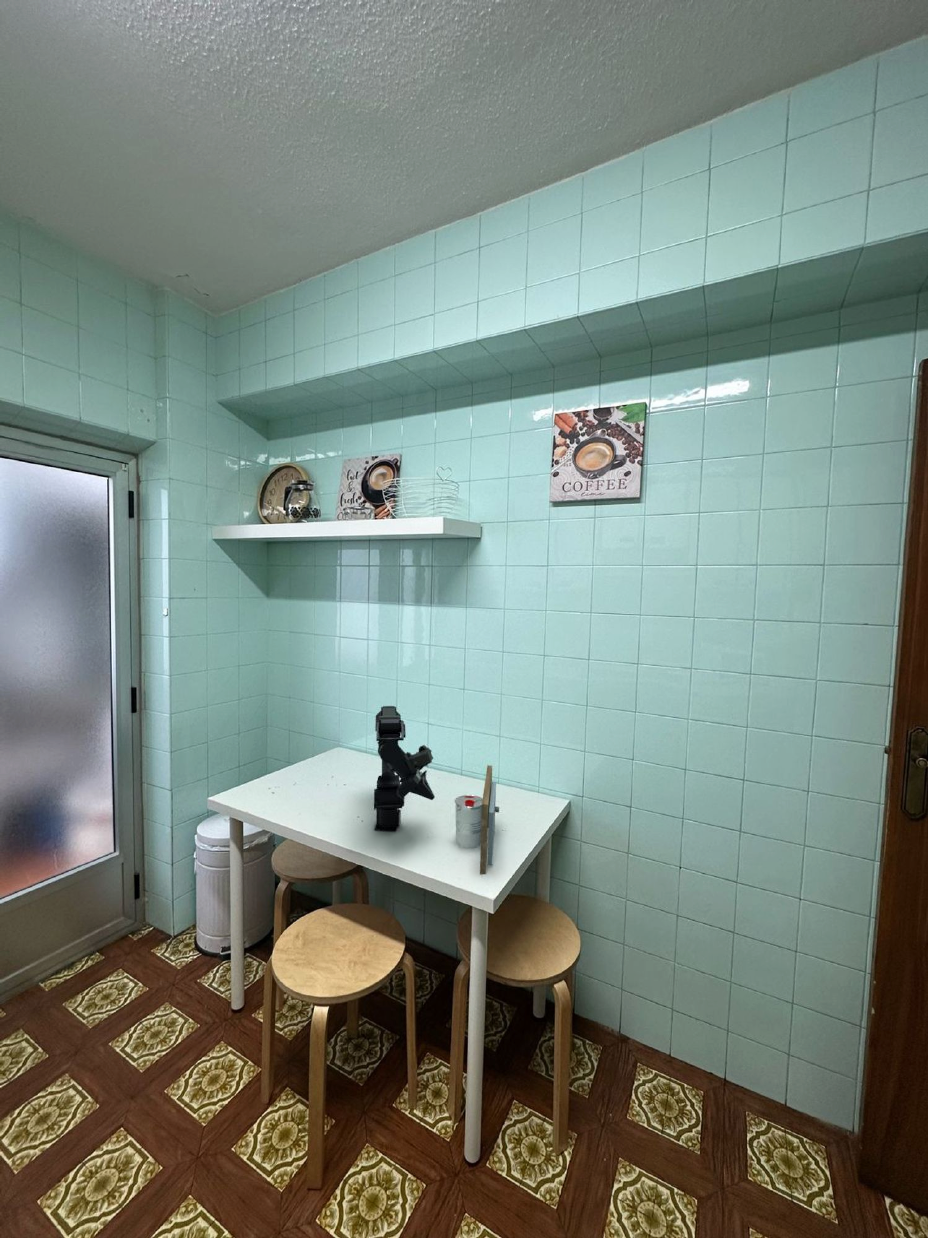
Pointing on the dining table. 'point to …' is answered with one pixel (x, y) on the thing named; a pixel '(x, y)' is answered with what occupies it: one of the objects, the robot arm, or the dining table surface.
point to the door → (491, 823)
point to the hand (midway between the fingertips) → (433, 798)
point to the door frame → (485, 819)
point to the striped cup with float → (468, 820)
